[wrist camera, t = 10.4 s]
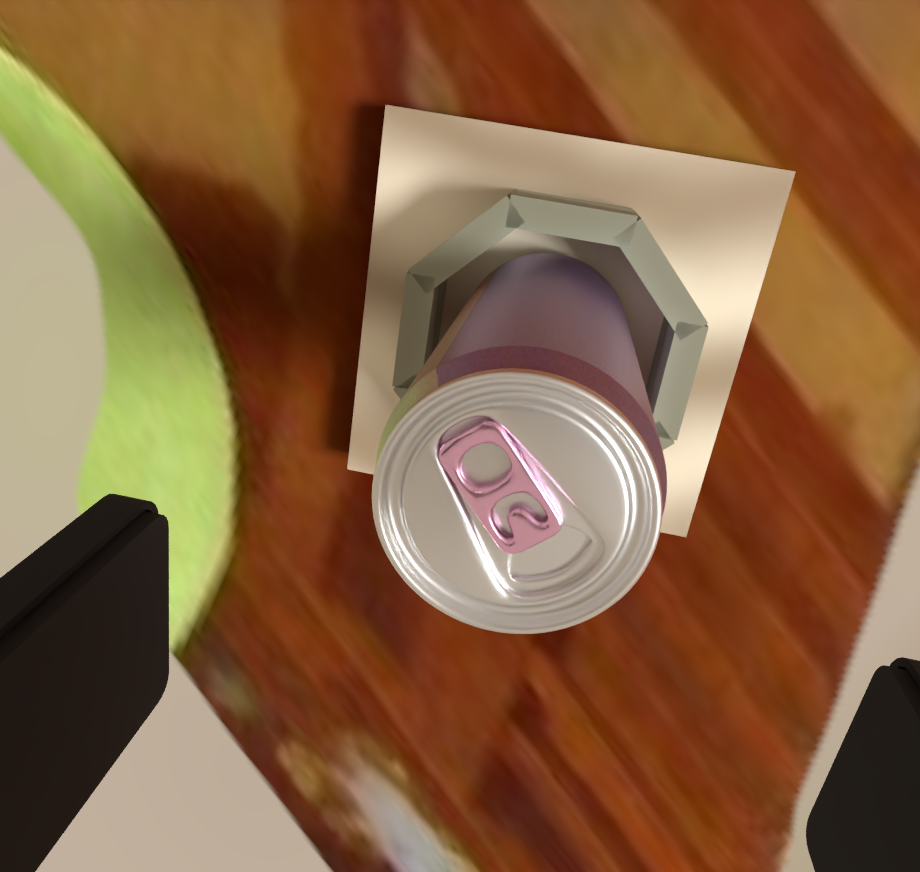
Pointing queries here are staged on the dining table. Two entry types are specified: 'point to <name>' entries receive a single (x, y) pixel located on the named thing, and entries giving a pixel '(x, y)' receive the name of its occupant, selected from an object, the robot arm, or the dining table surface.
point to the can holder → (575, 235)
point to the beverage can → (524, 456)
